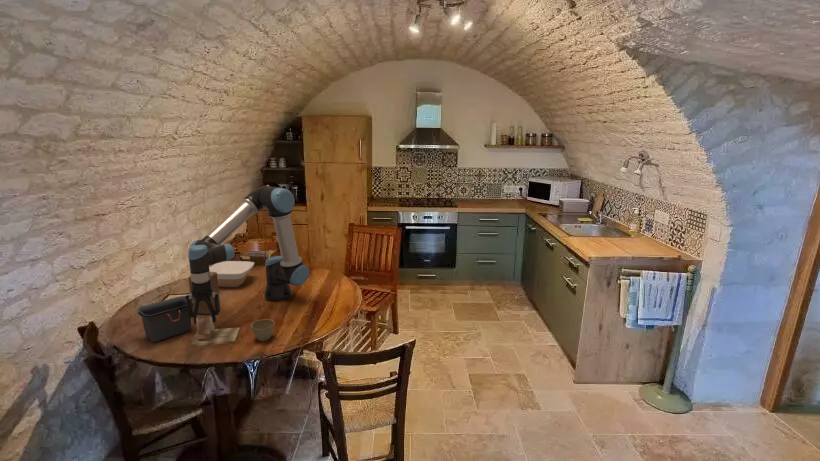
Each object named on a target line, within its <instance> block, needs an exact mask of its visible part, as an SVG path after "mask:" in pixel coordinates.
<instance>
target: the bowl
mask: <svg viewBox="0 0 820 461" xmlns="http://www.w3.org/2000/svg"><path fill="white" fill-rule="evenodd" d="M254 266H255V262H254V261H246V260H243V261H242V260H228V261H224V262H220V263H216V264H213V265H210V266H209V270H210V272H216V273H217V277H218V288H219V287H220V288H238V287H240V286H241V285H243V284H244V283H245V281H246V279H247V276H248V274H249V272H250V271H251V270H252V268H253V267H254Z"/></svg>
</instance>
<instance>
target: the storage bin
mask: <svg viewBox="0 0 820 461" xmlns="http://www.w3.org/2000/svg"><path fill="white" fill-rule="evenodd" d="M185 296H186V295H185ZM185 296H184V295H182V296H176V297H171V298H169V299H165V300H164V299H163V300H161V301H160V300H159V301H157V302H153V303H148V304H144V305H141V306H139V307H137V308H136V311H137V314H138V315H139V316H140V317H141V320H142V325H143V328H144V334H145V337H146V338H147V339H149V340H150V341H152V342H153V343H156V342H157V343H158V342H159V341H162V340H165V339H168V338H171V337H174V336H177V335H180V334H183V333H187V332H189V331H191V329H192V317H189V316H188V305H187V300H186V298H185ZM193 303H194V301H193V300H192V307H193V306H194V305H193Z"/></svg>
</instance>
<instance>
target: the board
mask: <svg viewBox="0 0 820 461" xmlns="http://www.w3.org/2000/svg"><path fill="white" fill-rule="evenodd" d="M214 329H215V331H214V333H213V335H212V337H211V339H210V340H198V336H197V333H196V334H195V335H194V337H193V339H192V340H191V343H190V347H203V346H215V345H226V344H236V342H237V339H238V335H239V333H240V327H230V328H229V327H227V328H226V327H224V328H214Z"/></svg>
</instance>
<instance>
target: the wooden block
mask: <svg viewBox="0 0 820 461" xmlns="http://www.w3.org/2000/svg"><path fill="white" fill-rule="evenodd" d="M210 281H211V289H212V291H213V292H216V293H217V292H219V293H220V290H219V289H220V288H219V286H218V277H217V273H216V272H210ZM188 286H189V294H191V293H192V281H191V275H189V276H188ZM191 299H192V300H193V301H194V303H193V305H194V306H193V307H192V309H193V312H194V309H195V304H196V299H195V298H194V297H193V296H192V298H191ZM210 299H211V303H212V305H213V308H214V310H215V302H214V297H213V295H211V296H210ZM220 299H221V298H220V295H219V296H218V300H219V309H220V308H221V304H220V303H221V301H220ZM198 314H201V315H211V313H210V310H209V308H208V305H207V303H206V302H205V301H200V303H199V309H198Z"/></svg>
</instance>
